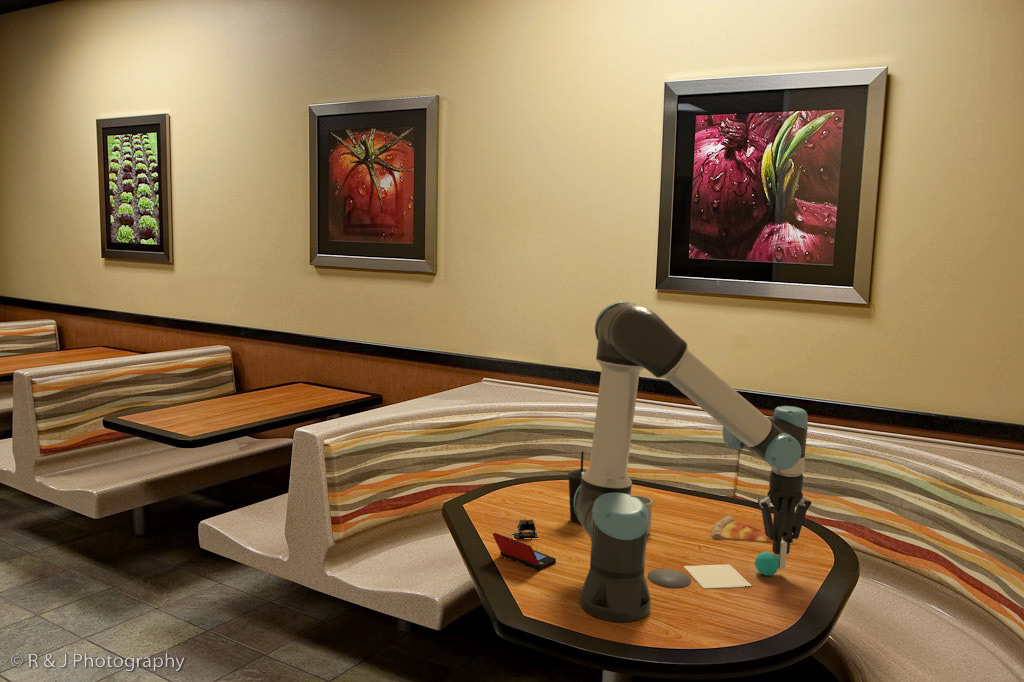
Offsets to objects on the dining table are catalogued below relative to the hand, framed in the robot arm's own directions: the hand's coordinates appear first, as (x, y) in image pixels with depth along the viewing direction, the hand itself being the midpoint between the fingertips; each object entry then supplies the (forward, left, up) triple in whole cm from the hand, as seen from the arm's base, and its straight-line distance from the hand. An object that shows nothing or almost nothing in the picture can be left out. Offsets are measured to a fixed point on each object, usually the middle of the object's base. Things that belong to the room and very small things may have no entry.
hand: (779, 566), depth 188 cm
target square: (-16, 0, -2) cm, 16 cm away
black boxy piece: (-57, +28, -3) cm, 64 cm away
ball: (-3, 0, +1) cm, 3 cm away
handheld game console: (-60, +13, -3) cm, 62 cm away
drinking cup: (-40, +38, -2) cm, 55 cm away
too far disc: (-28, 0, -2) cm, 28 cm away
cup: (-26, +28, -2) cm, 38 cm away
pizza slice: (+2, +23, -3) cm, 23 cm away
